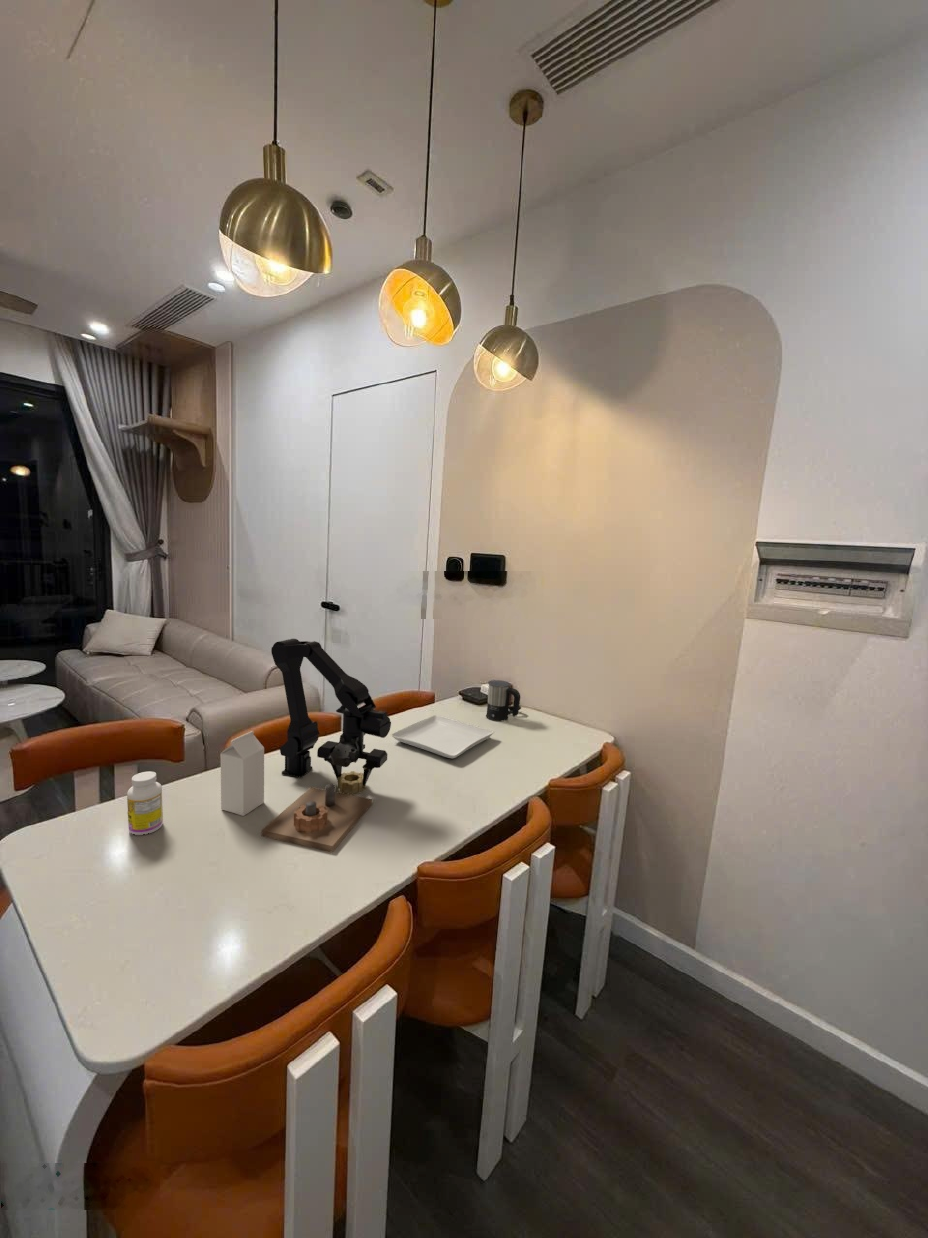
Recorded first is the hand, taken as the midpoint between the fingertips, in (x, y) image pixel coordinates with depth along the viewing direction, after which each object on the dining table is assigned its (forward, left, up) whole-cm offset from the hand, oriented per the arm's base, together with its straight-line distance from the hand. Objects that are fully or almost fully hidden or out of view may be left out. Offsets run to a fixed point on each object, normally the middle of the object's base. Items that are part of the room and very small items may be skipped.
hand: (351, 782), depth 134 cm
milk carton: (-21, -18, -2) cm, 28 cm away
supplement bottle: (-35, -33, -2) cm, 48 cm away
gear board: (0, -17, -2) cm, 17 cm away
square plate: (+15, +41, -2) cm, 44 cm away
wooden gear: (0, 0, -2) cm, 2 cm away
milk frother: (+31, +76, -2) cm, 82 cm away
